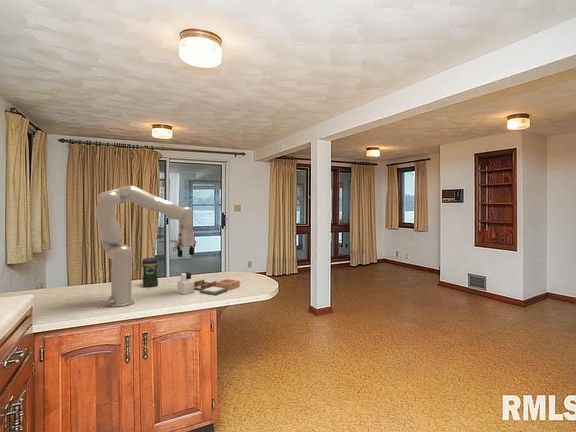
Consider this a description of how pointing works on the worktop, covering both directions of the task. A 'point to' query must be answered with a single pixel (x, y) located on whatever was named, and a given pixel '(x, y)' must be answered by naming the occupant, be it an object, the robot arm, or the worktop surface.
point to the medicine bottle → (185, 284)
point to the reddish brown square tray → (228, 284)
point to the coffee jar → (149, 272)
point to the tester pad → (213, 289)
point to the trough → (206, 284)
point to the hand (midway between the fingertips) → (185, 255)
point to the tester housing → (213, 292)
